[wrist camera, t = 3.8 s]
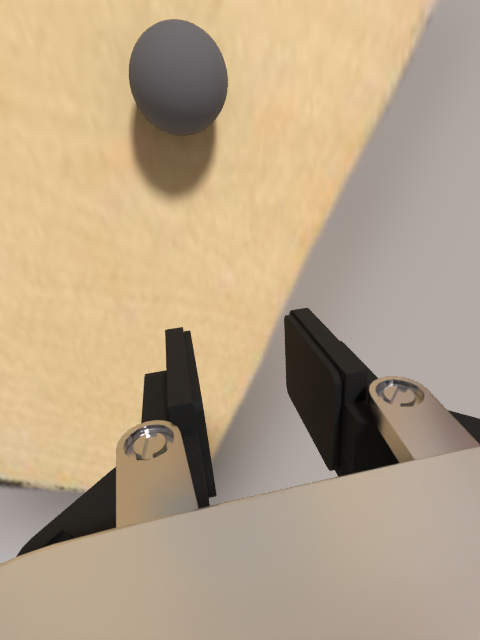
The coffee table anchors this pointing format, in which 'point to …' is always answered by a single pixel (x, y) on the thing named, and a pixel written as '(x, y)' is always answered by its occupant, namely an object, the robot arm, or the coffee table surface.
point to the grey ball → (178, 77)
